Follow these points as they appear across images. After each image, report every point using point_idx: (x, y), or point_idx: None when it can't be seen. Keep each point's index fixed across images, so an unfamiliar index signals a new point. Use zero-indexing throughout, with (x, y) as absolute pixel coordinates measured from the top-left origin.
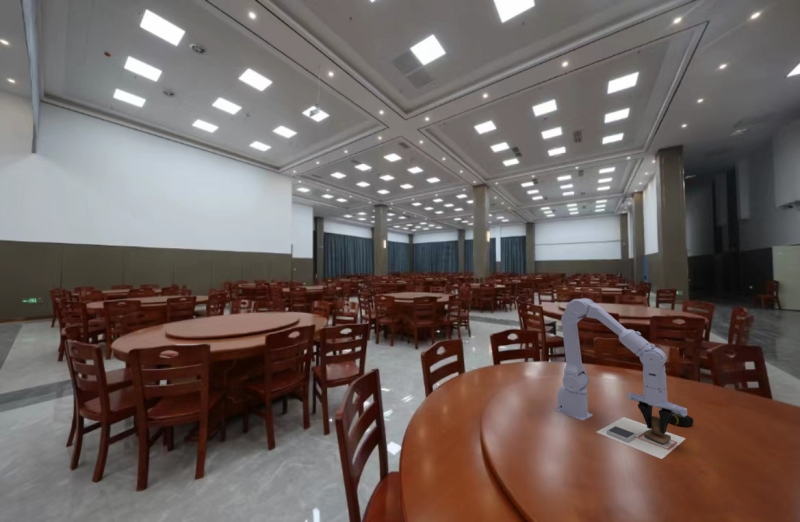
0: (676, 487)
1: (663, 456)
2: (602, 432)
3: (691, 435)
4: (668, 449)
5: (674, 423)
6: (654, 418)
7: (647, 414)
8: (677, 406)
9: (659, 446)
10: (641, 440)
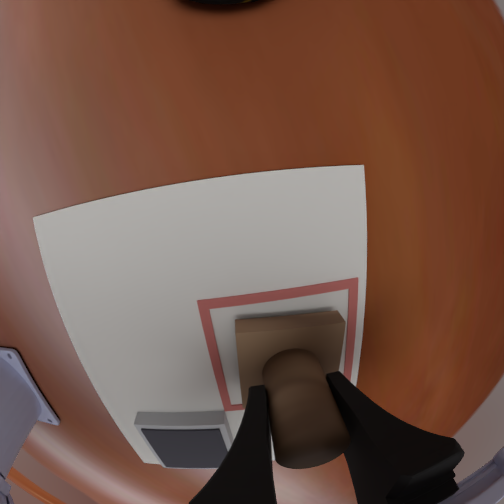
0: None
1: None
2: (150, 454)
3: (349, 66)
4: None
5: (237, 2)
6: (305, 461)
7: (276, 501)
8: (499, 492)
9: None
10: None
